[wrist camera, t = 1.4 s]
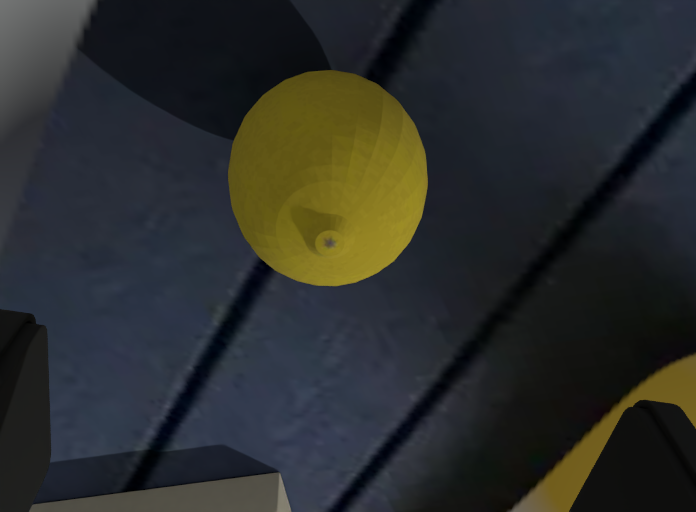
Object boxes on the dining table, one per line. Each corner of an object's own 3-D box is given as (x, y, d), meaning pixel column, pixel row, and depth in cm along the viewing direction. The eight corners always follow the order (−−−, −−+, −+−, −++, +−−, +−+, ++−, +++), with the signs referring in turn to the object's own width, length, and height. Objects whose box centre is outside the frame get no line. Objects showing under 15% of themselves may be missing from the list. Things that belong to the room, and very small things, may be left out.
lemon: (442, 106, 21) (500, 216, 14) (346, 227, 24) (357, 373, 17) (303, 5, 20) (293, 76, 13) (213, 147, 22) (163, 272, 15)
